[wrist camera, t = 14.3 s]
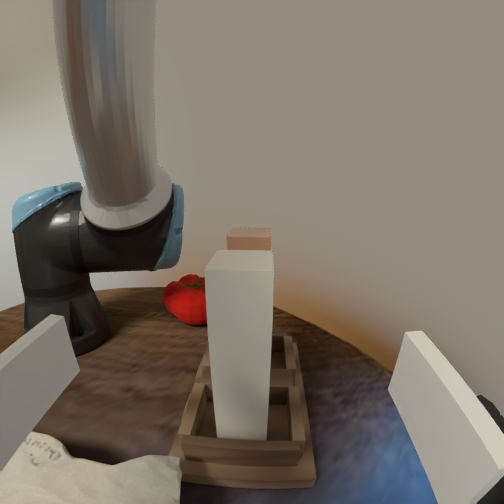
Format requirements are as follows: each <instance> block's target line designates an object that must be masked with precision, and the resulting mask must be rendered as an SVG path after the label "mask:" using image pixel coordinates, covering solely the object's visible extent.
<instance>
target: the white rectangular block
mask: <svg viewBox="0 0 504 504" xmlns="http://www.w3.org/2000/svg"><path fill="white" fill-rule="evenodd" d="M273 290H274V265H273V253H272V251H266V250H217V252H216V253H215V255H214V256H213V258H212V259H211V261H210V263H209V264H208V265H207V267H206V268H205V292H206V311H207V327H208V342H209V356H210V368H211V380H212V391H213V401H214V411H215V421H216V430H217V438H222V439H236V440H258V441H266V437H267V421H268V404H269V386H270V366H271V344H272V319H273Z"/></svg>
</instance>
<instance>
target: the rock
mask: <svg viewBox="0 0 504 504" xmlns="http://www.w3.org/2000/svg"><path fill="white" fill-rule="evenodd" d="M58 458H59V459H58ZM179 464H180V458H179V457H174V456H160V455H148V456H143V457H139V458H135V459H132V460H129V461H126V462H122V463H119V464H116V465H107V464H103V463H99V462H95V461H91V460H87V459H83V458H75V457H73V456H71V455H70V454H69V452H68V451H67V449H66V447H65V446H64V445H63V444H62V443H61V442H60V441H59V440H57V439H55V438H54V437H51V436H49V435H46V434H41V433H36V432H32V431H31V432H30V433H29V435H28V436H27V437H26V439H25V440H24V441H23V443H22V444H21V445H20V447H19V448H18V449H17V451H16V452H15V453H14V455H13V456H12V458H11V459H10V460H9V462H8V463H7V464H6V466H5V467H4V469H3V470H2V471H1V472H0V504H180V483H181V477H182V472H181V470H180V466H179ZM38 497H39V498H38Z"/></svg>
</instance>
